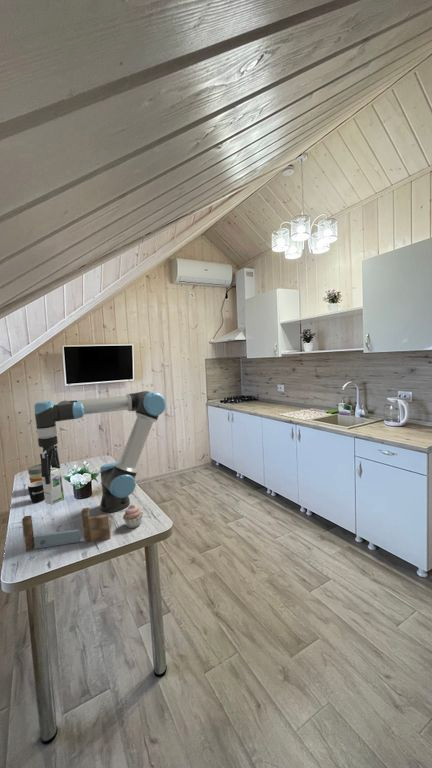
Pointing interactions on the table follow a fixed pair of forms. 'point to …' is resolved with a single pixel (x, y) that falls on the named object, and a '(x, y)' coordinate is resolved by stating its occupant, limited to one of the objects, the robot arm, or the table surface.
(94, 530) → the door frame
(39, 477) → the reusable coffee cup
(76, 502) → the table surface
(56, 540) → the pale blue flat bar
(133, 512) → the cupcake
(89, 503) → the table surface
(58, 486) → the syrup box
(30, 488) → the mug
